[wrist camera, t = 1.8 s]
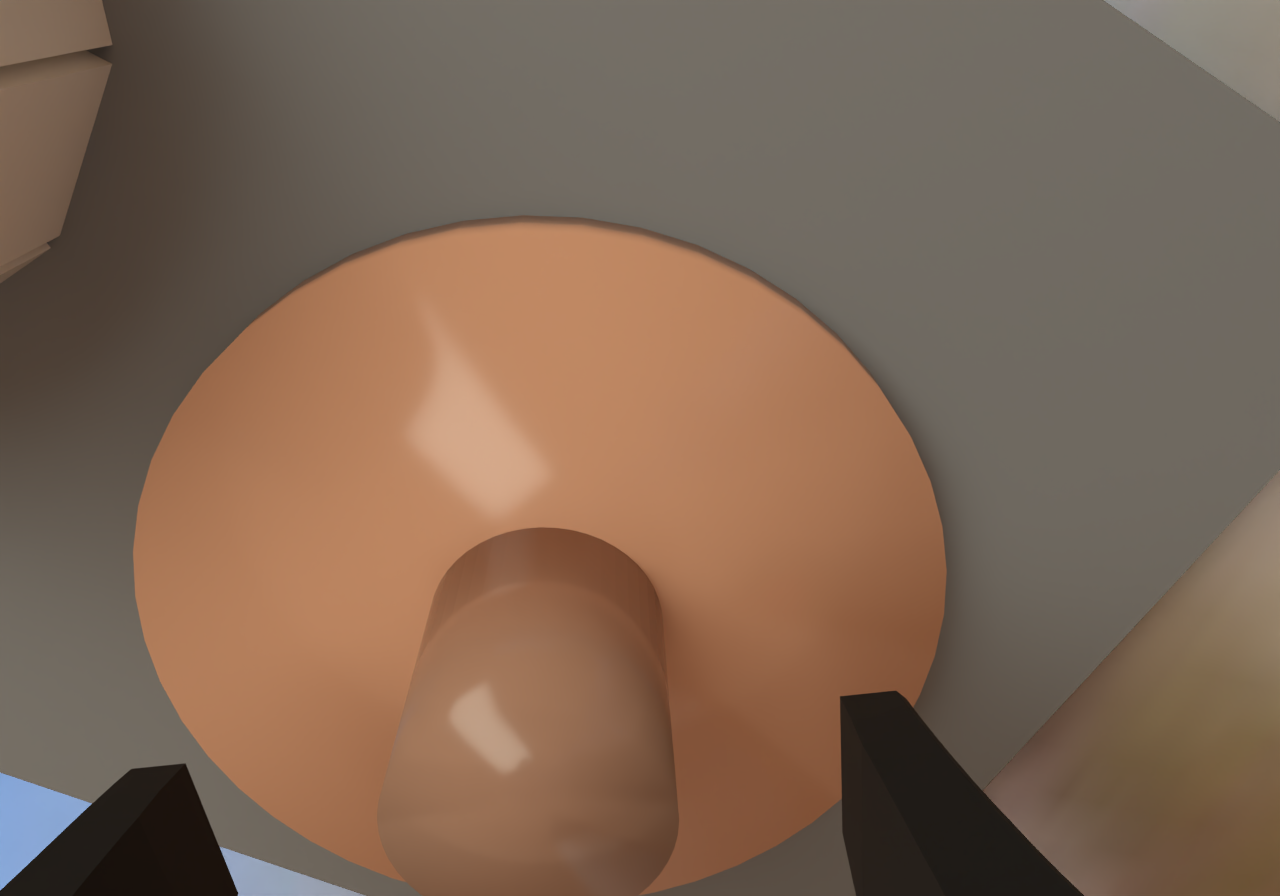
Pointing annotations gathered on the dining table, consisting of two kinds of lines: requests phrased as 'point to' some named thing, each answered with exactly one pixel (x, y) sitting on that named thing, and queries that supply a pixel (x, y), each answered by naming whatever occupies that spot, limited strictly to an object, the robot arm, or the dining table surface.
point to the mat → (696, 213)
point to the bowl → (45, 116)
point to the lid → (536, 559)
